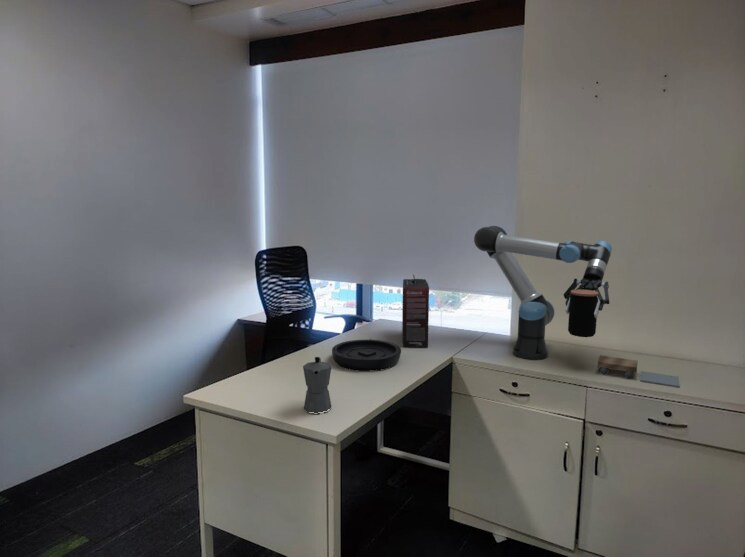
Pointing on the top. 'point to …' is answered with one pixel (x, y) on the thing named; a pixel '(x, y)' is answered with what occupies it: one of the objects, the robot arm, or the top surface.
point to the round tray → (366, 354)
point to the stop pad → (659, 379)
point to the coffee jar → (582, 313)
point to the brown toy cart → (617, 365)
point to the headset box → (415, 312)
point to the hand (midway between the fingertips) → (580, 313)
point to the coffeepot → (317, 386)
